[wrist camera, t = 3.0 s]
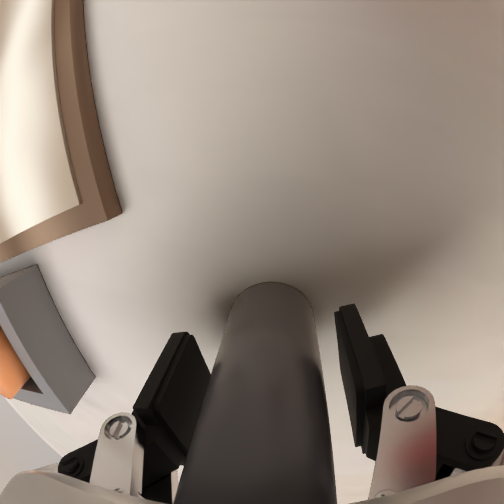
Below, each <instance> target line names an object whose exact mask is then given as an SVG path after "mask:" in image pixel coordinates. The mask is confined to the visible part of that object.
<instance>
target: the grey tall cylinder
mask: <svg viewBox="0 0 504 504" xmlns="http://www.w3.org/2000/svg"><path fill="white" fill-rule="evenodd" d="M173 504H337V498H336V485H335V473H334V462H333V452H332V443H331V434H330V425H329V417H328V409H327V401H326V394H325V386H324V379H323V372H322V366H321V359H320V353H319V346H318V340H317V334H316V328H315V322H314V316H313V311H312V307H311V305H310V303H309V301H308V300H307V298H306V297H305V296H304V295H303V294H302V293H301V292H300V291H298V290H297V289H295V288H293V287H291V286H289V285H286V284H282V283H276V282H266V283H260V284H256V285H254V286H251V287H249V288H247V289H246V290H244V291H243V292H242V293H241V294H240V295H238V297H237V298H236V299H235V301H234V303H233V305H232V307H231V311H230V314H229V317H228V321H227V324H226V327H225V330H224V334H223V337H222V340H221V344H220V347H219V350H218V354H217V357H216V360H215V364H214V367H213V370H212V374H211V377H210V380H209V384H208V387H207V391H206V394H205V397H204V401H203V404H202V407H201V411H200V414H199V417H198V421H197V424H196V427H195V431H194V434H193V438H192V441H191V444H190V448H189V451H188V454H187V458H186V461H185V465H184V468H183V471H182V475H181V478H180V482H179V485H178V488H177V492H176V495H175V499H174V502H173Z"/></svg>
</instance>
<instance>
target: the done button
mask: <svg viewBox="0 0 504 504" xmlns="http://www.w3.org/2000/svg"><path fill="white" fill-rule="evenodd" d="M30 377H31V376H30V374H29V373H28V371H27V370H26V368H25V366H24V365H23V363H22V362H21V360H20V358H19V357H18V355H17V354H16V352H15V350H14V349H13V347H12V345H11V343H10V342H9V340H8V338H7V336H6V334H5V332H4V331H3V329H2V327H1V325H0V394H1V395H3V396H4V397H6V398H8V399H12V398H13V397H14V396H15V395H16V393H17V392H18V391H19V390H20V389H21V388H22V386H23V385H24V384H25V383H26V382H27V381H28V380H29V378H30Z"/></svg>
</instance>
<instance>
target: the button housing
mask: <svg viewBox="0 0 504 504" xmlns="http://www.w3.org/2000/svg"><path fill="white" fill-rule="evenodd" d="M0 325H1V327H2V329H3V331H4V332H5V334H6V336H7V338H8V340H9V342H10V343H11V345H12V347H13V349H14V350H15V352H16V354H17V355H18V357H19V358H20V360H21V362H22V363H23V365H24V366H25V368H26V370H27V371H28V373H29V374H30V376H31V377H30V378H29V380H28V381H27V382H26V383H25V384H24V385H23V386H22V388H21V389H20V390H19V391H18V392H17V393H16V395H15V396H14V397H13V398H14V399H17V400H20V401H23V402H27V403H30V404H33V405H37V406H40V407H44V408H47V409H51V410H55V411H59V412H63V413H67V414H71V412H72V411H73V409H74V408H75V407H76V405H77V404H78V402H79V401H80V399H81V398H82V396H83V395H84V393H85V392H86V391H87V389H88V388H89V386H90V385H91V383H92V382H93V381H94V379H95V376H94V375H93V373H92V372H91V370H90V368H89V367H88V365H87V364H86V362H85V360H84V359H83V357H82V355H81V354H80V352H79V350H78V349H77V347H76V345H75V343H74V342H73V340H72V338H71V336H70V334H69V332H68V331H67V329H66V327H65V325H64V323H63V321H62V319H61V317H60V315H59V313H58V311H57V309H56V307H55V305H54V303H53V301H52V298H51V296H50V294H49V292H48V290H47V287H46V285H45V283H44V280H43V278H42V276H41V273H40V271H39V268H38V266H37V265H34V266H31V267H28V268H25V269H23V270H20V271H17V272H14V273H11V274H9V275H6V276H3V277H0Z"/></svg>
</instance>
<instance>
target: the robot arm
mask: <svg viewBox="0 0 504 504" xmlns="http://www.w3.org/2000/svg"><path fill="white" fill-rule="evenodd" d="M334 315H335V323H336V332H337V341H338V350H339V360H340V370H341V376H342V380H343V385H344V390H345V395H346V400H347V405H348V410H349V415H350V421H351V426H352V432H353V437H354V443H355V447H358V446H361V447H362V453H363V454H364V453H366V457H368V458H370V459H372V460H374V461H376V462H375V468H374V473H373V478H372V483H371V488H370V493H369V497H368V500H365V501H360V502H355V503H350V504H504V433H503V432H502V430H501V429H500V428H499V427H498V426H497V425H495V424H493V423H490V422H487V421H483V420H479V419H475V418H472V417H468V416H464V415H461V414H458V413H454V412H451V411H448V410H444V409H441V408H438V407H435V401H434V397H433V395H432V394H431V393H430V392H429V391H428V390H426V389H425V388H423V387H420V386H413V385H408V386H406V384H405V381H404V379H403V377H402V374H401V372H400V370H399V368H398V365H397V363H396V361H395V359H394V356H393V354H392V352H391V350H390V348H389V346H388V343H387V341H386V339H385V337H384V335H382V334H380V335H376V336H372V337H369V336H368V334H367V331H366V329H365V327H364V324H363V322H362V319H361V317H360V315H359V312H358V310H357V308H356V305H355V304H350V305H345V306H341V307H339V311H336V312H334ZM210 377H211V374H210V372H209V370H208V367H207V365H206V363H205V361H204V358H203V356H202V354H201V352H200V349H199V347H198V345H197V342H196V340H195V338H194V336H193V335H190V334H189V333H188V332H179V333H173V334H172V335H171V337H170V338H169V340H168V342H167V344H166V346H165V348H164V349H163V351H162V353H161V355H160V357H159V359H158V360H157V362H156V364H155V366H154V368H153V370H152V372H151V374H150V375H149V377H148V379H147V381H146V383H145V385H144V387H143V389H142V390H141V392H140V394H139V396H138V398H137V400H136V402H135V404H134V406H133V409H134V410H133V412H132V414H129V413H118V414H115V415H113V416H111V417H109V418H108V419H107V420H106V421H105V422H104V423H103V425H102V427H101V429H100V434H99V438H98V440H96V441H94V442H91V443H89V444H87V445H85V446H83V447H81V448H79V449H77V450H75V451H73V452H70V453H68V454H67V455H65V456H64V457H63V458H62V459H61V461H60V463H59V464H58V463H55V464H51V465H48V466H45V467H42V468H39V469H35V470H30V471H24V472H20V473H18V474H16V475H15V476H14V477H13V478H12V479H11V480H10V482H9V483H8V484H7V485H6V487H5V488H4V490H3V492H2V493H1V495H0V504H173V502H174V499H175V495H176V492H177V488H178V471H177V469H178V468H179V465H185V461H186V458H187V454H188V451H189V448H190V444H191V441H192V438H193V434H194V431H195V427H196V424H197V421H198V417H199V414H200V411H201V407H202V404H203V401H204V397H205V394H206V391H207V387H208V384H209V380H210Z"/></svg>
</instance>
